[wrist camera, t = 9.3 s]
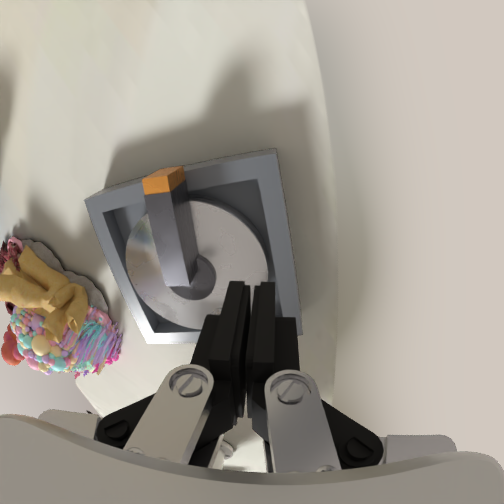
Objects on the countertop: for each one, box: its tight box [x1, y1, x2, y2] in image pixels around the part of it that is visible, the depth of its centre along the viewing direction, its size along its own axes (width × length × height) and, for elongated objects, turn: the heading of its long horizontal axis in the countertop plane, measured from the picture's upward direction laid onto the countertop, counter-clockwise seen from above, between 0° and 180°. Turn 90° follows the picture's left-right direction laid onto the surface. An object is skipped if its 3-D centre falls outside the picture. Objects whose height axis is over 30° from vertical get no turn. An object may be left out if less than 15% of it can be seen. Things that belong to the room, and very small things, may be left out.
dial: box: [126, 166, 268, 330], centre depth 21 cm, size 15×12×5 cm
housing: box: [84, 148, 303, 344], centre depth 24 cm, size 16×16×3 cm
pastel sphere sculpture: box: [0, 237, 122, 379], centre depth 29 cm, size 25×24×9 cm
